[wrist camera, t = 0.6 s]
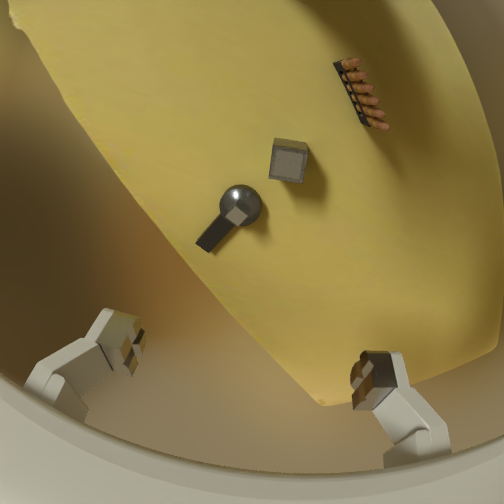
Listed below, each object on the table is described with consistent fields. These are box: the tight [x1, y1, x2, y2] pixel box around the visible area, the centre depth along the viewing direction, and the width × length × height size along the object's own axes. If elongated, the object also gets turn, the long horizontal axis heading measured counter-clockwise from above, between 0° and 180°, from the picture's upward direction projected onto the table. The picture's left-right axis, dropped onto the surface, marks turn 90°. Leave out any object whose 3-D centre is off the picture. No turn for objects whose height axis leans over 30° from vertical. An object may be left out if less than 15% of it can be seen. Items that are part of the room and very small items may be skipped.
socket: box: [269, 138, 308, 184], centre depth 41 cm, size 5×5×6 cm
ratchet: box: [195, 185, 261, 253], centre depth 49 cm, size 16×7×5 cm, turn 139°
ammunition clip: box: [333, 58, 390, 131], centre depth 31 cm, size 11×2×12 cm, turn 27°
